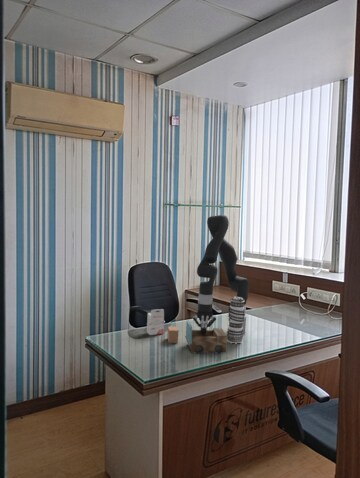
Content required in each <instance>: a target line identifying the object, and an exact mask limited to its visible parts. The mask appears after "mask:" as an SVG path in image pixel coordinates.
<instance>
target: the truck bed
mask: <svg viewBox="0 0 360 478" xmlns="http://www.w3.org/2000/svg"><path fill="white" fill-rule="evenodd" d="M227 337H228V336H227V334H226V332H225V330H224V329H223V328H221V327H219V328H218V327H217V328H216V327H214V328H212V329H207V330H206V334H205V335H202V334H201V329H192V340H191V344H190V346H189V345H188V347H189V350H190V352H191V353H197V354H202V353H204V354H205V353H212V354H213V353H214V352H216V354H222V353H221V352H226V353H227V345H228V344H227V343H228V341H227ZM214 354H215V353H214Z"/></svg>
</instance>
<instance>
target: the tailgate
mask: <svg viewBox="0 0 360 478" xmlns="http://www.w3.org/2000/svg"><path fill="white" fill-rule="evenodd" d="M191 323H192V322H191V321H190V320H189V319H187V320H186V327H185V328H186V329H185V335H184V337H185V339H186V342H187V345H188V347H189V346H190V344H191V340H192V330H193V325H192V324H191Z"/></svg>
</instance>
